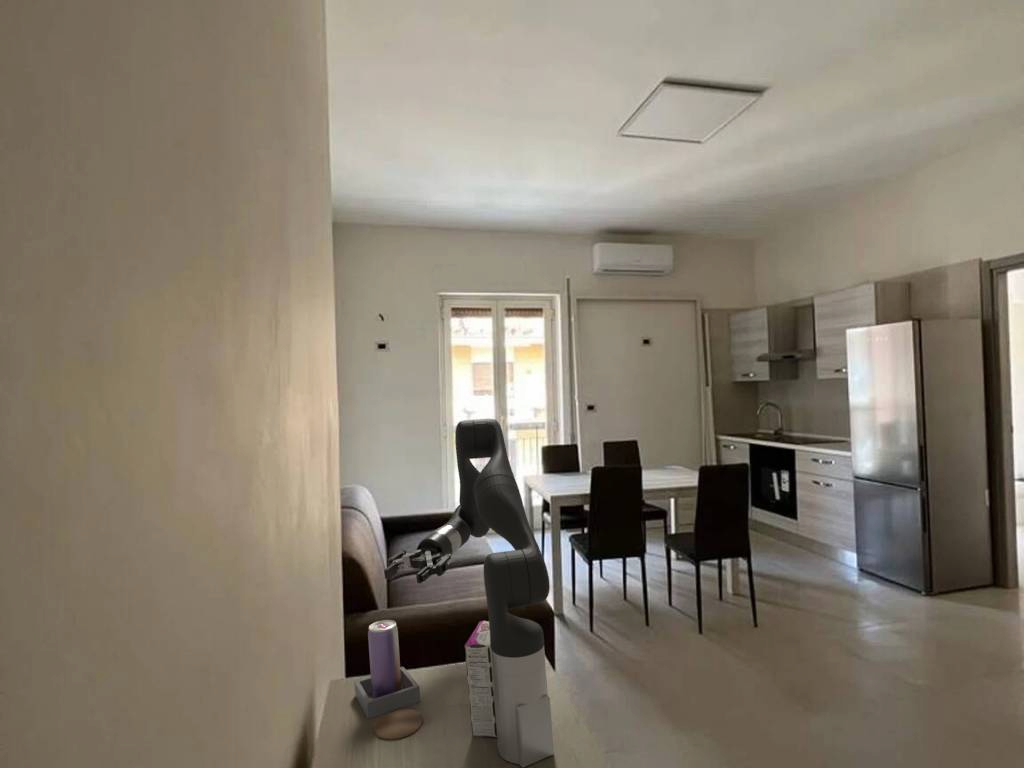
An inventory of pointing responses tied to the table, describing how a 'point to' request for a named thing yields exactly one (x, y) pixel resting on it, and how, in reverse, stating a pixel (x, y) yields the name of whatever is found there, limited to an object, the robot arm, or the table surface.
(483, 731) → the candy bar box
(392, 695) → the square frame
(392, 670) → the beverage can
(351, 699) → the table surface
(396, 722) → the coaster
